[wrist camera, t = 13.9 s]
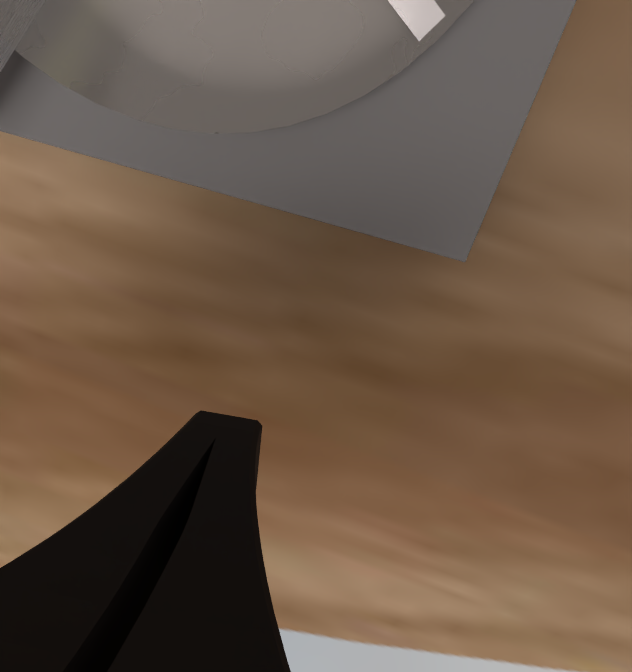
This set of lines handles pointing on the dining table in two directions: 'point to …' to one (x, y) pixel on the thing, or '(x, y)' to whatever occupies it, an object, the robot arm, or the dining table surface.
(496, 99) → the base plate
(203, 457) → the robot arm
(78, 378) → the dining table surface
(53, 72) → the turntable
